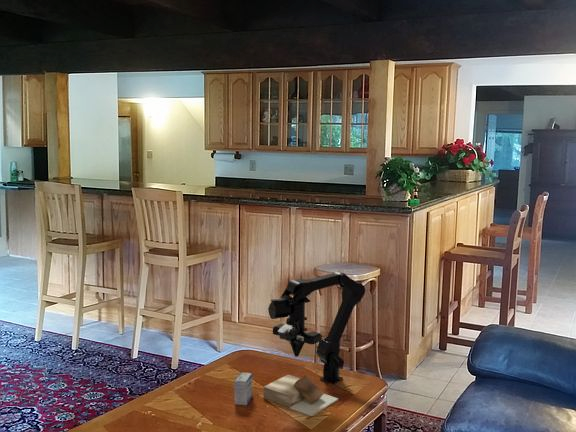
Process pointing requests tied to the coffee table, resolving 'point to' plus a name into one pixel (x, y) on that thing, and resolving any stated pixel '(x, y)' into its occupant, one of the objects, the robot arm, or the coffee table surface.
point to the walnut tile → (308, 389)
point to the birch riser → (283, 391)
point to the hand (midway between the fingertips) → (296, 356)
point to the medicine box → (243, 388)
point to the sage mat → (314, 405)
